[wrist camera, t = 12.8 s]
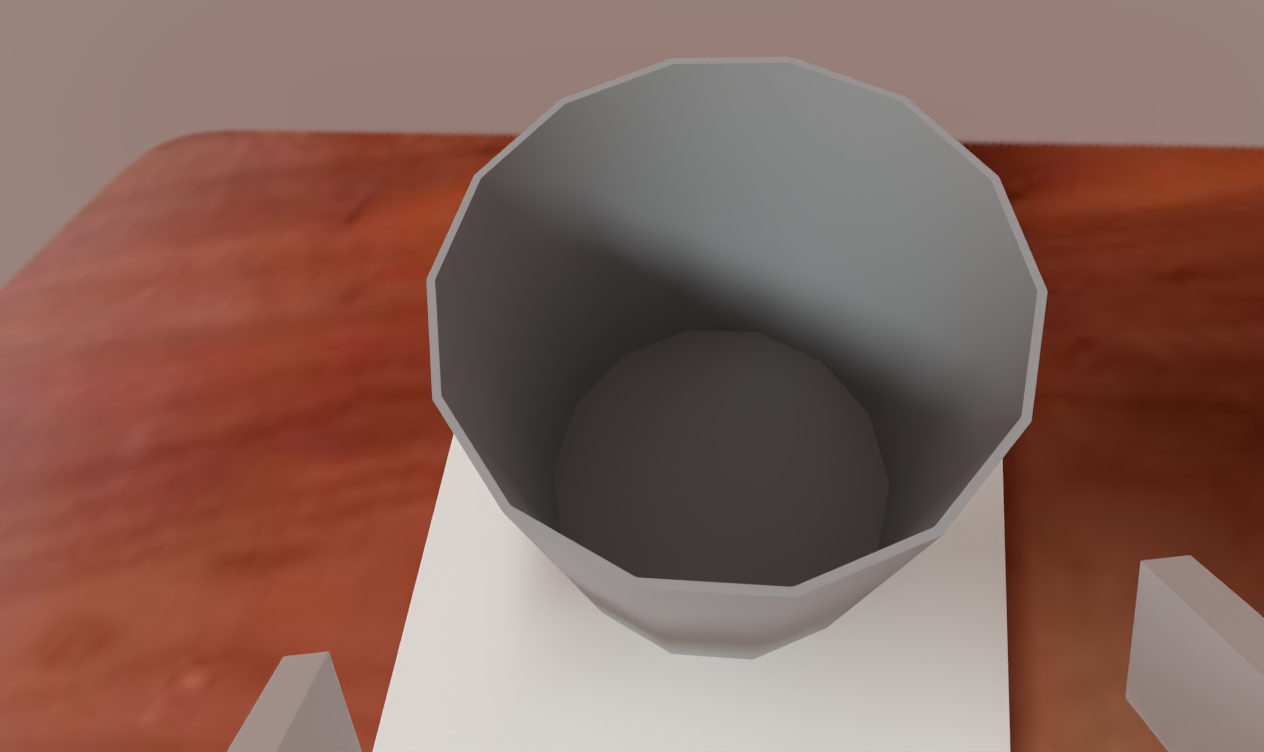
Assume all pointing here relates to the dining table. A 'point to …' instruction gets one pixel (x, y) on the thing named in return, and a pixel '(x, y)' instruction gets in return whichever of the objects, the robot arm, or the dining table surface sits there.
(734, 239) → the cup
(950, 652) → the raised board
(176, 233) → the dining table surface
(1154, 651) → the robot arm
